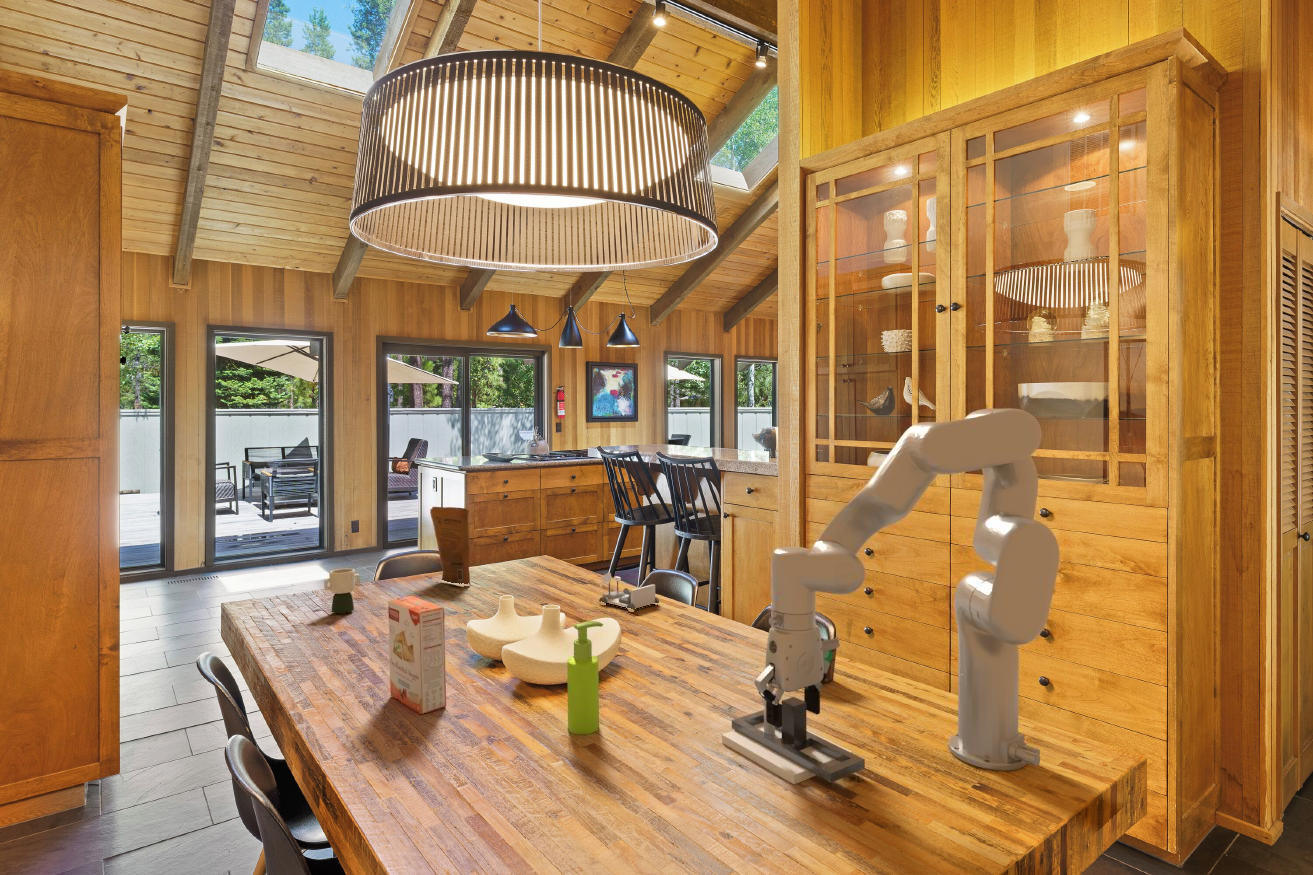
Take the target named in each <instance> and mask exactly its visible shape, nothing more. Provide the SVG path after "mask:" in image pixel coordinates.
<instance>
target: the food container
mask: <svg viewBox="0 0 1313 875" xmlns="http://www.w3.org/2000/svg"><path fill="white" fill-rule="evenodd" d="M821 642H822V651H823V659H824V660H826V661H828V662H829V663H830V665H829V668H828V671H827V673H826V679H825V681H824V682H823V684H822V685H827V684H830V683H832V682H833V681H834V678H835V677H834V676H835V668H836V666H835V664H836V657H837V649H838V648H840V646H841V644H840V640H839V639H838V636H836V637H835V638H832V639H831V638H830V639H826V638H823V637H821Z"/></svg>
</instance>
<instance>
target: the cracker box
mask: <svg viewBox="0 0 1313 875" xmlns="http://www.w3.org/2000/svg"><path fill="white" fill-rule="evenodd" d="M387 606H388V607H387V608H388V611H387V612H388V637H389V638H388V644H389V645H388V646H389V648H388V650H389V651H388V652H389V679H390V680H389V684H390V689H389V690H390V696H391V697H392V696H393V697H392V698H394V699H396V700H397V699H398V701H399V702H400V701H401V704H403V705H404V706H405V705H406V706H407V707H408V706H409V707H408V708H410V709H412V710H413V711H415V712H417V713H418V714H420V715H421V714H422V715H425V714H428V713H431V712H434V711H437V710H440V709H442V708H446V707H447V688H446V687H447V686H446V684H447V682H446V678H447V676H446V636H445V634H446V632H445V631H446V630H445V629H446V628H445V626H446V624H445V607H443V606H440V605H438V604H434V603H432V602H429V601H427V600H424V599H422V598H419V597H416V596H414V595H409V596H404V597H399V598H393V599H391V600H388V601H387ZM424 713H425V714H424Z"/></svg>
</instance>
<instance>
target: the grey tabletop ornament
mask: <svg viewBox="0 0 1313 875" xmlns="http://www.w3.org/2000/svg"><path fill="white" fill-rule="evenodd" d="M613 579H614V581H616V590H614V591H611V582H612V573H611V572H607V573H604V572H603V573H602V576H600V578H599V580H600V581H601V582H602V583H604V584H607V585H608V592H605V593H603V594H602V596H601V597H599V600H598V601H599V602H601V601H602V602H604V603H612V604H618V605H621V606H624V607H627V608H631V609H633V610H635V608H638V607H642V606H645V605H648V604H653V603H659V604H660V600H659V599H660V598H658V597H657V596H656V584H654V583H653V584H649V585H645V586H641V587H637V588H633V589H631V590H630V589H629V588H623V590H622V591H619V581H622V578H621V577H620V576H613ZM599 602H598V603H599ZM642 608H643V607H642ZM635 611H636V610H635Z"/></svg>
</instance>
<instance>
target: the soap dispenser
mask: <svg viewBox="0 0 1313 875" xmlns="http://www.w3.org/2000/svg"><path fill="white" fill-rule="evenodd" d="M603 626H604V624H603V623H601V622H600V621H596V620H594V621H593V620H592V621H591V620H588V621H587V620H586V621H583V622H579V623H574V624H573V628H574V629H576V630H577V639H576V640H574V641H573V656H570V657H569V658H568V659H567V662H566V665H567V666H566V668H567V669H566V670H567V671H566V672H567V673H566V674H567V729H568V731H569V733H571V734H575V735H581V736H582V735H590V734H593V733H595V732H598V730H599V729H600V728H599V727H600V705H599V704H600V700H599V697H600V695H599V694H600V693H599V692H600V690H599V687H600V686H599V681H600V680H599V677H600V676H599V673H600V672H599V657H597V656H595V655H593V653H592V652H593V648H592V646H593V644H592V643H593V642H592V640H591V639H589V638H588V629H590V628H592V627H594V628H595V627H596V628H597V627H601V628H602V627H603Z"/></svg>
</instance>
